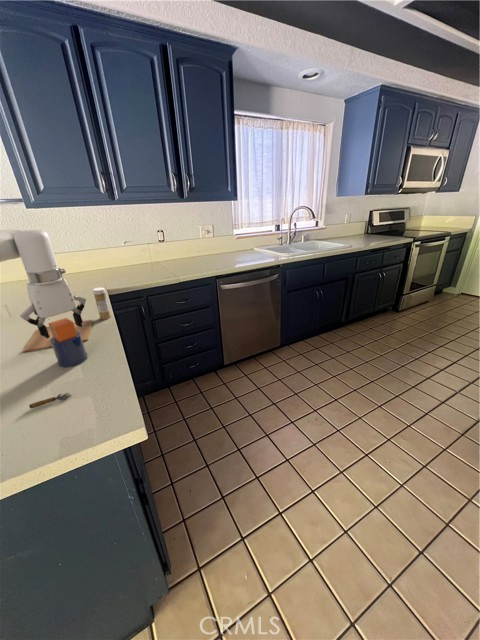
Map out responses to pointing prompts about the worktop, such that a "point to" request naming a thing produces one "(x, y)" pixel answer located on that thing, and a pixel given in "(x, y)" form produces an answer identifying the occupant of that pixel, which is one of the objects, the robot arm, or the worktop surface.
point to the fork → (49, 400)
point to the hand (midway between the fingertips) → (63, 331)
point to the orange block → (62, 329)
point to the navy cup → (69, 351)
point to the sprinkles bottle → (101, 303)
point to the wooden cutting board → (43, 342)
